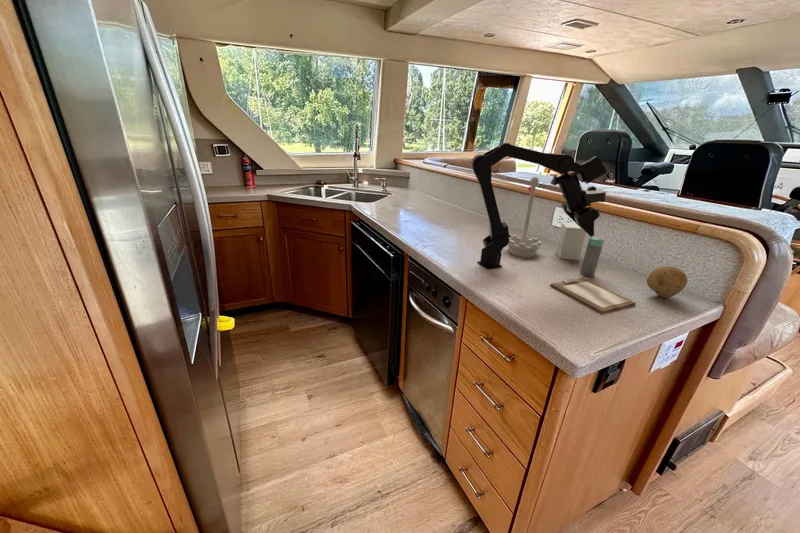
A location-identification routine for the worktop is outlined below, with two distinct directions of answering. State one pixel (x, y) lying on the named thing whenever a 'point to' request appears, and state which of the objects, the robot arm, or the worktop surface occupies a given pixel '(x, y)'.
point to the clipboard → (592, 295)
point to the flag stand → (525, 232)
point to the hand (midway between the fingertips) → (587, 231)
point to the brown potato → (667, 281)
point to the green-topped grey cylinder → (591, 256)
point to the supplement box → (570, 241)
